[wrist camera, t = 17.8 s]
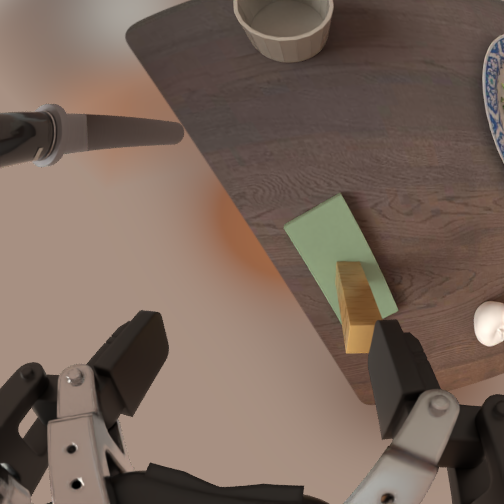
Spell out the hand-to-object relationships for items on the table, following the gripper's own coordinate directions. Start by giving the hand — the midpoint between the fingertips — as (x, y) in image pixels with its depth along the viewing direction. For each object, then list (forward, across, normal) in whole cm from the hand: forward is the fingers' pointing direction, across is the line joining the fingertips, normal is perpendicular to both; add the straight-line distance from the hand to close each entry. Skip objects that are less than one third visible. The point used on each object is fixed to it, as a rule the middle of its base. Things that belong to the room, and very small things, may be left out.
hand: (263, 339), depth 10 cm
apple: (+26, -32, +16) cm, 45 cm away
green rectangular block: (+27, -7, +9) cm, 29 cm away
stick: (+25, -7, +9) cm, 28 cm away
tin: (+27, -1, -22) cm, 35 cm away
